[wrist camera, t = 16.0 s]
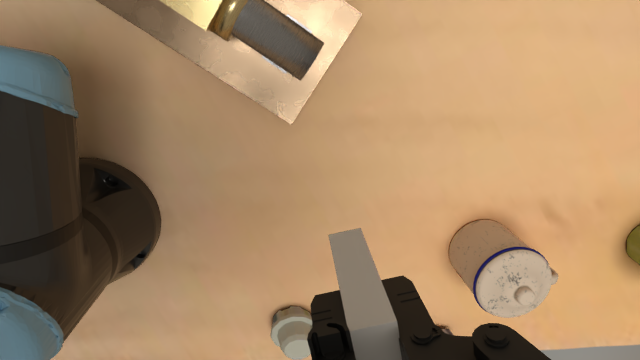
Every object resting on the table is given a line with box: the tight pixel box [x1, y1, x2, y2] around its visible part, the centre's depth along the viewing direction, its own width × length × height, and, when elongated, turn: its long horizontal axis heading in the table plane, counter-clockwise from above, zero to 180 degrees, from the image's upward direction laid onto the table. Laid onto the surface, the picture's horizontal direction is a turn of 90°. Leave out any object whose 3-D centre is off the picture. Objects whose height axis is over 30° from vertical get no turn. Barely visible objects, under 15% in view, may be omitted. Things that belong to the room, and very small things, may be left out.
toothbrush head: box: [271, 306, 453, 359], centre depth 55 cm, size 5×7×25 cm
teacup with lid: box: [449, 220, 558, 318], centre depth 49 cm, size 12×9×12 cm
